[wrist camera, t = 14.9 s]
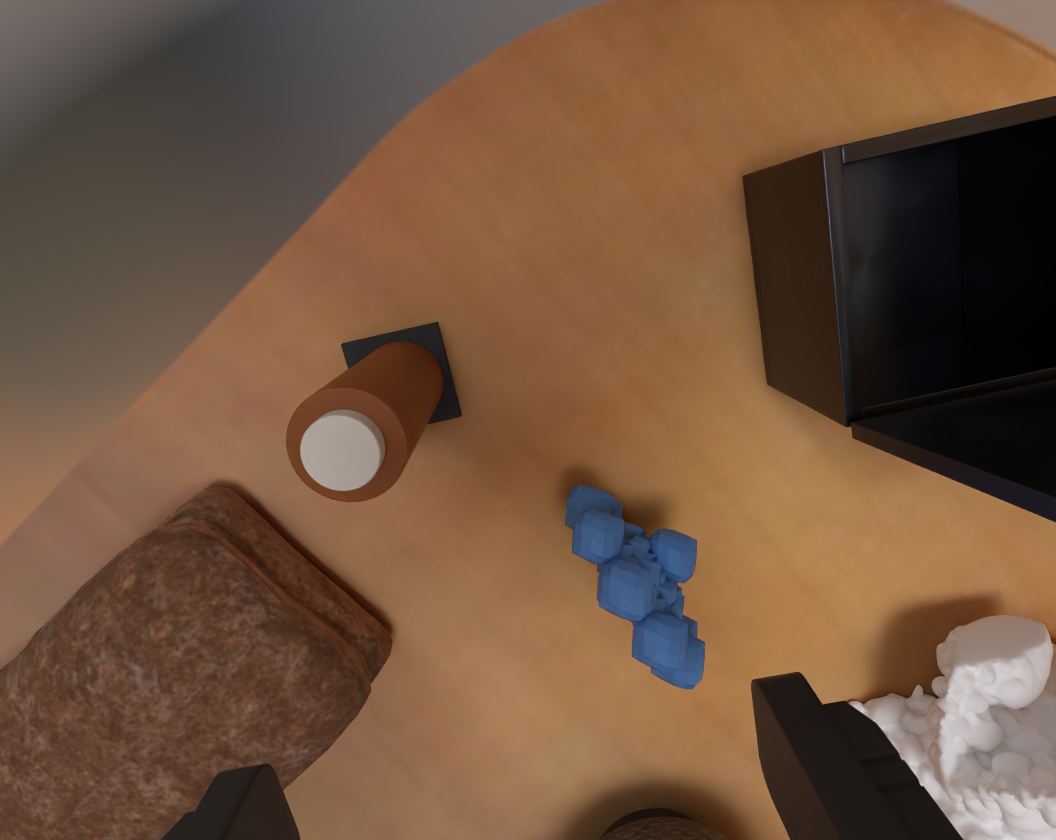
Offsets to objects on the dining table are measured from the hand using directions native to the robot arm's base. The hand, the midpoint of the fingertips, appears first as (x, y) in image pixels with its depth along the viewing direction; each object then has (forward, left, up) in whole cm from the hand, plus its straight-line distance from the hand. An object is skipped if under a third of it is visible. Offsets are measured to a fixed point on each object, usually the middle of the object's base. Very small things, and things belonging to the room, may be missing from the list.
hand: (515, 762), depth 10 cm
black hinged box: (-3, +22, -30) cm, 37 cm away
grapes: (+11, +5, -30) cm, 32 cm away
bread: (+16, -28, -30) cm, 44 cm away
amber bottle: (-2, -7, -29) cm, 30 cm away
